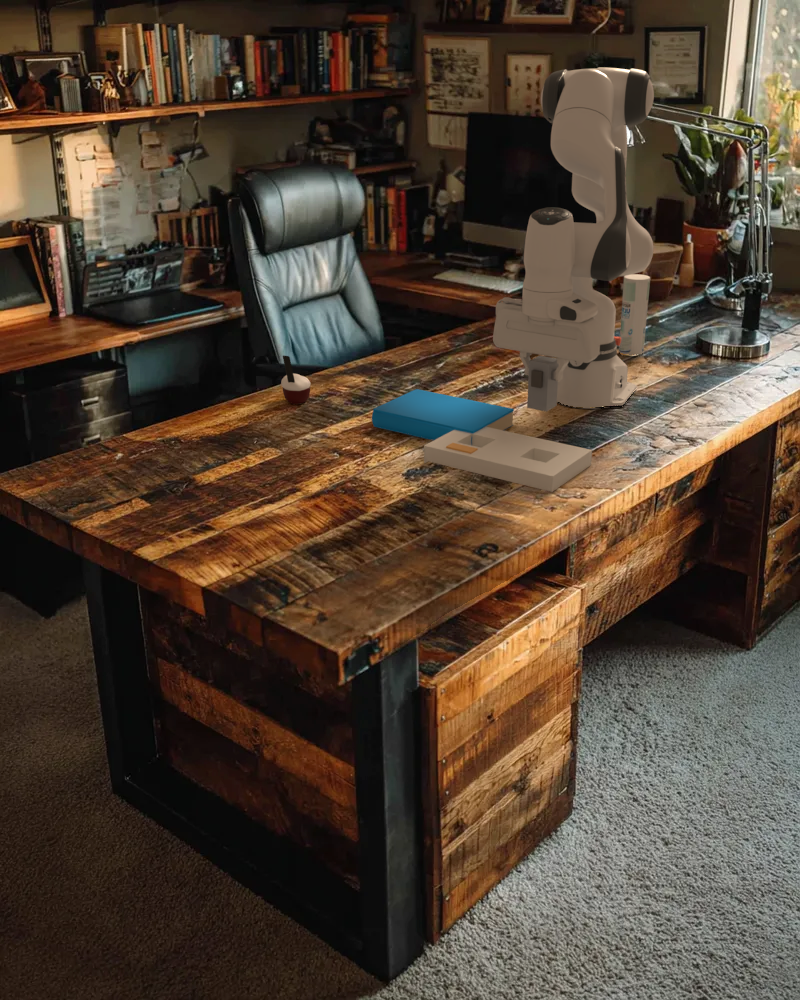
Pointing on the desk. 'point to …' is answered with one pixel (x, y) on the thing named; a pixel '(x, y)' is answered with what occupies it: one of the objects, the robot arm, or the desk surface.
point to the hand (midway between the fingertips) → (543, 377)
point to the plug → (542, 384)
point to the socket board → (510, 457)
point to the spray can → (634, 313)
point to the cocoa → (294, 385)
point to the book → (439, 415)
